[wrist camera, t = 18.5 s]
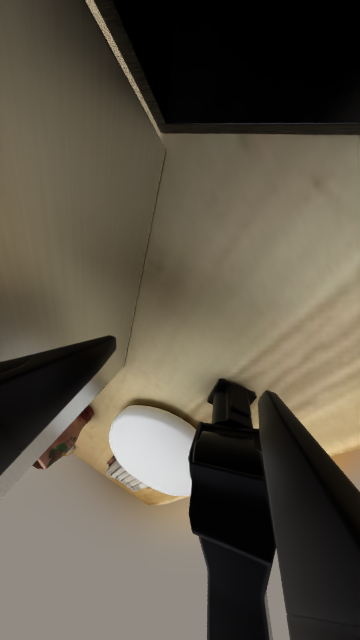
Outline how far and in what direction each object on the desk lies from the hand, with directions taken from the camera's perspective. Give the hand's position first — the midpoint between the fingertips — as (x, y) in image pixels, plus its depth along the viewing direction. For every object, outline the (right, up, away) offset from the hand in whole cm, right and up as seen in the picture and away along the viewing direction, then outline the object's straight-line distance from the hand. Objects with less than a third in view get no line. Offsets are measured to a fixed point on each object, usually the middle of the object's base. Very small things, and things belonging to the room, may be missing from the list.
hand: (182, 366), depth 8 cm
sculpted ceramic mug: (-32, -24, +36) cm, 54 cm away
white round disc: (-5, -29, +29) cm, 41 cm away
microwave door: (-10, +8, +14) cm, 19 cm away
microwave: (+21, +29, -5) cm, 36 cm away
